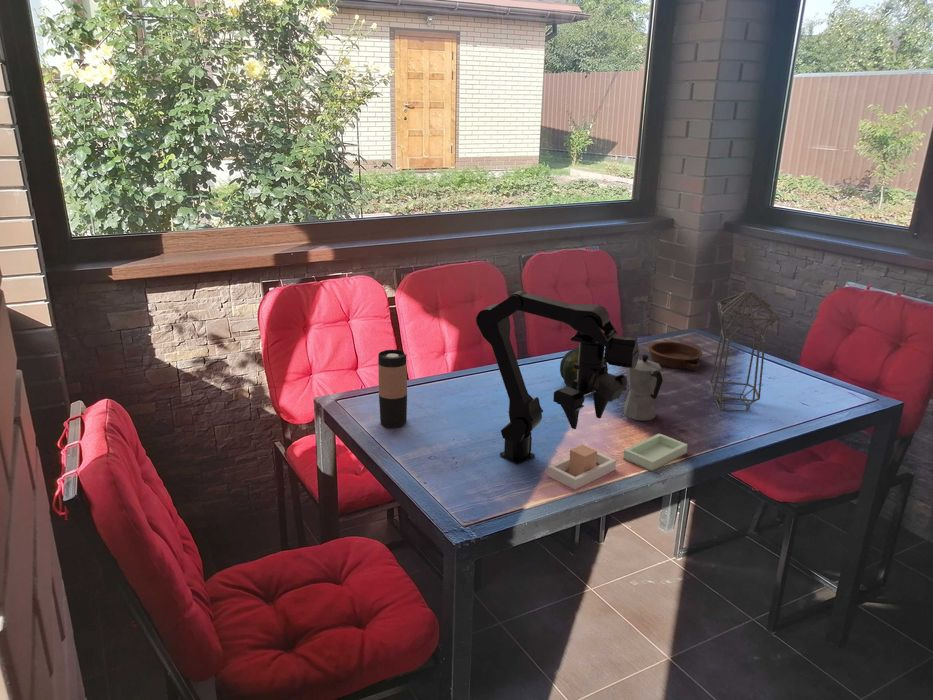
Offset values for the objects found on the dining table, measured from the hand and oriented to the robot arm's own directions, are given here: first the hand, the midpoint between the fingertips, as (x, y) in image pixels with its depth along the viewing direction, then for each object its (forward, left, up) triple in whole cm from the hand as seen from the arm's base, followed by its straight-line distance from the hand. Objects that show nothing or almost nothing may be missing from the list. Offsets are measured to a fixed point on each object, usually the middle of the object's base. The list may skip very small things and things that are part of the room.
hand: (586, 423), depth 174 cm
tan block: (0, 0, -13) cm, 13 cm away
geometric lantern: (+66, -2, -13) cm, 67 cm away
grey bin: (0, 0, -13) cm, 13 cm away
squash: (+44, +37, -13) cm, 59 cm away
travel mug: (-18, +52, -13) cm, 57 cm away
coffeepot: (+39, +11, -13) cm, 42 cm away
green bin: (+21, -6, -13) cm, 25 cm away
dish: (+85, +31, -13) cm, 91 cm away
